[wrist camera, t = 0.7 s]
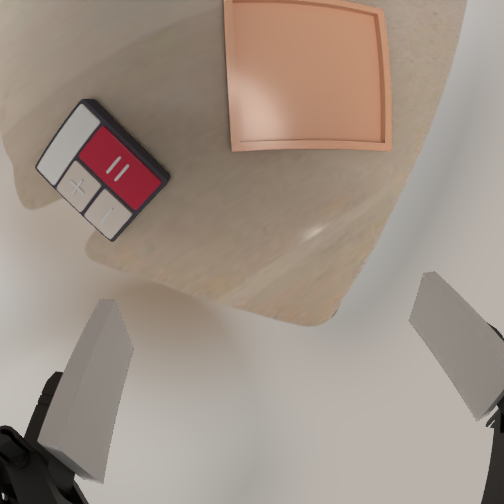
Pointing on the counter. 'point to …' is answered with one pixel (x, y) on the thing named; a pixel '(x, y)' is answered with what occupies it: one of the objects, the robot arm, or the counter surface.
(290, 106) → the tray
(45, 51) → the counter surface
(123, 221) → the calculator
